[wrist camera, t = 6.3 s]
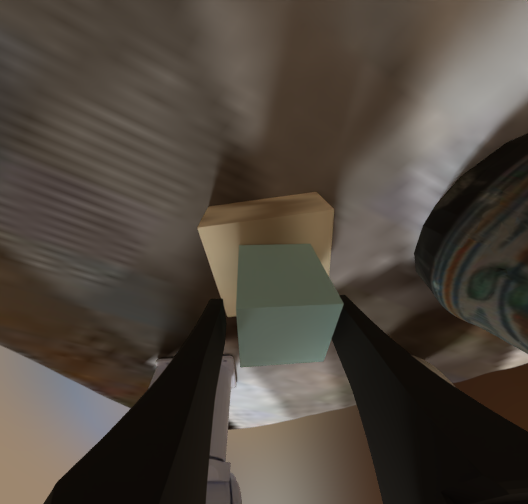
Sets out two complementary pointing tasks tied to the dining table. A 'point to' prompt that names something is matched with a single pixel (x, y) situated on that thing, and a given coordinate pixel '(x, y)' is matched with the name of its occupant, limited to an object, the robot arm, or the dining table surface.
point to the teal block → (284, 305)
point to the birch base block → (263, 233)
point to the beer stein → (483, 245)
